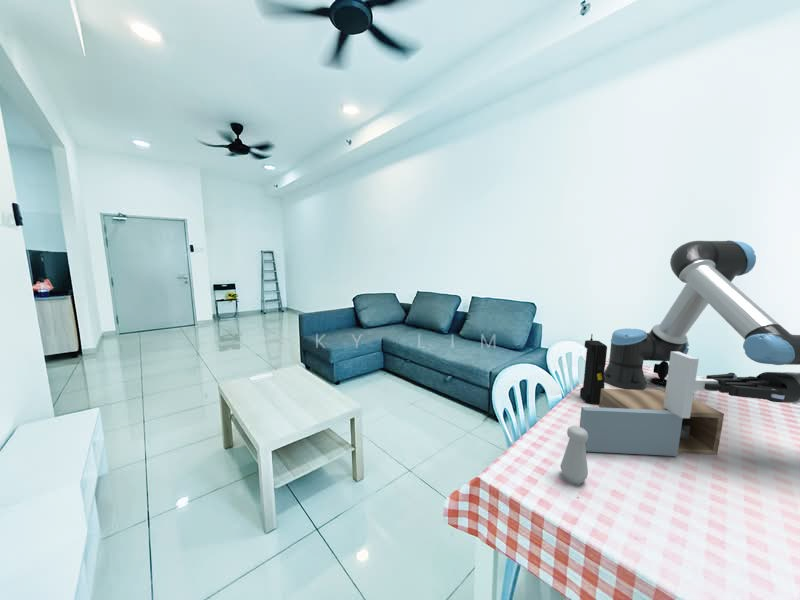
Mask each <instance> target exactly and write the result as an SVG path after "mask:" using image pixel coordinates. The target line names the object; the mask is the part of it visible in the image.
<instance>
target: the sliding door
mask: <svg viewBox="0 0 800 600" xmlns="http://www.w3.org/2000/svg"><path fill="white" fill-rule="evenodd" d="M668 365H669V369H668V375H667V377H666V380H667V384H666V387H665V390H664V391H665V398H664V406H663V407H664V408H666V409H668V410H648V409H624V408H599V406H598V407H596V406H593V407H592V406H581V410H580V418H579V427H581V428H583V429H585V430H586V431H587V433H588V440H587V442H585V448H586V452H591V453H592V452H594V453H609V454H610V453H613V454H614V453H615V454H629V455H632V454H633V455H648V456H649V455H650V456H652V455H653V456H670V457H672V456H673V457H674V456H675V457H677V456H678V454H679V453H678V447H679V440H680V433H681V426H682V420H683V418H690V414H691V408H692V401H693V398H694V393H695V390H694V388H695V381H696V379H697V372H698V366H699V358H697V357H694V356H692V355H690V354H688V353H687V354H684V353H681V352H674V351H671V354H670V361H668Z"/></svg>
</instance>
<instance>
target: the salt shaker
mask: <svg viewBox="0 0 800 600" xmlns="http://www.w3.org/2000/svg"><path fill="white" fill-rule="evenodd" d="M566 435H567V437H568V442H567V445H566V449H565V452H564V454H563V457H562V459H561V463H560V465H559V466H560V470H561V472H562V473H561V474H562V476H563V478H564V479H565V480H566V481H568V483H570V484H572V485H577V486H578V485H579V486H580V485H581V484H583V482H585V480H587V477H588V475H589V469H588V460H587V451H586V448H585V442H587V440H588V433H587V431H586V430H585V429H583V428H581V427H580V426H578V425H577V426H576V425H571V426H569V427H568V428H567V430H566Z"/></svg>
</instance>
